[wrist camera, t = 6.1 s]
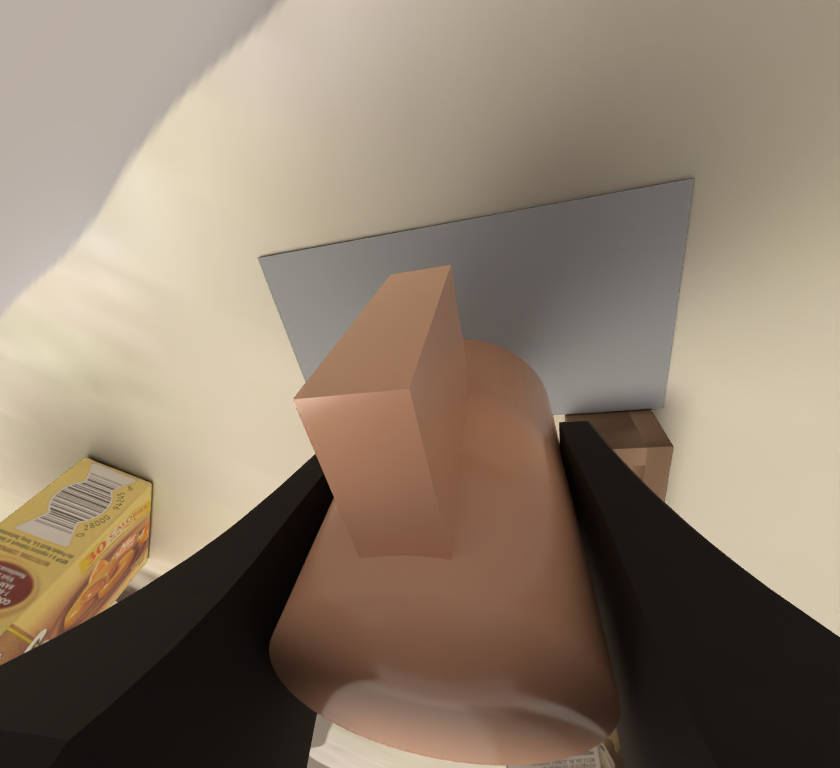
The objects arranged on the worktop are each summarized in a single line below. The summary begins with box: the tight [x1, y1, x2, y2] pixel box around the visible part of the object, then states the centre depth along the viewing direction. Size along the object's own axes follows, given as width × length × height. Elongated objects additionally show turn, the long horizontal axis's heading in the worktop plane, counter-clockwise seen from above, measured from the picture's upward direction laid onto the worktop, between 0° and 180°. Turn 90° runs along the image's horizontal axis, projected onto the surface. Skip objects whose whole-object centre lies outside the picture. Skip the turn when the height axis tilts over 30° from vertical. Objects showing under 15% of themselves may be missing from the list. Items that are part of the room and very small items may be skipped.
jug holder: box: [565, 409, 673, 502], centre depth 19 cm, size 13×13×2 cm
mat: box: [258, 178, 695, 415], centre depth 14 cm, size 14×8×1 cm, turn 101°
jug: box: [269, 265, 621, 765], centre depth 8 cm, size 7×5×7 cm
